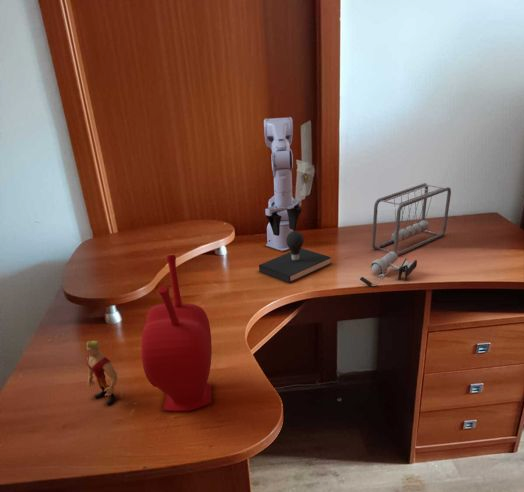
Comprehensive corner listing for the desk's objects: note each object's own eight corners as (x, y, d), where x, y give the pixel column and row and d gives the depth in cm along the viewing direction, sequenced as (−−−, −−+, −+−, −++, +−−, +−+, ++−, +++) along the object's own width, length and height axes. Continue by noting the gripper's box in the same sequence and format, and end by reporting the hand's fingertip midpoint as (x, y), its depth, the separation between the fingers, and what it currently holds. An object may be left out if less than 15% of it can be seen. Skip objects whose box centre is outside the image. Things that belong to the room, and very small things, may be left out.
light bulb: (306, 258, 169) (306, 229, 164) (300, 265, 165) (299, 235, 159) (290, 257, 171) (289, 228, 166) (284, 263, 167) (283, 233, 161)
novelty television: (163, 372, 120) (140, 252, 104) (217, 367, 120) (202, 247, 105) (153, 430, 102) (123, 295, 87) (217, 424, 103) (199, 289, 87)
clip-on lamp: (383, 300, 152) (419, 270, 159) (383, 283, 147) (420, 253, 155) (352, 286, 159) (389, 258, 166) (352, 269, 154) (389, 241, 162)
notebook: (259, 272, 168) (258, 264, 167) (300, 254, 179) (300, 247, 178) (289, 283, 159) (289, 275, 158) (331, 264, 170) (331, 257, 169)
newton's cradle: (421, 229, 195) (426, 181, 185) (445, 235, 188) (452, 186, 178) (370, 250, 179) (373, 199, 169) (395, 257, 172) (399, 205, 162)
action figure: (86, 395, 114) (69, 337, 106) (100, 387, 116) (84, 330, 108) (112, 410, 109) (97, 351, 101) (126, 402, 111) (111, 343, 103)
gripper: (275, 197, 155) (277, 240, 162) (307, 187, 164) (308, 229, 171) (260, 194, 160) (262, 235, 167) (292, 184, 168) (293, 225, 175)
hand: (284, 232), depth 169 cm, fingers open, 7 cm apart
